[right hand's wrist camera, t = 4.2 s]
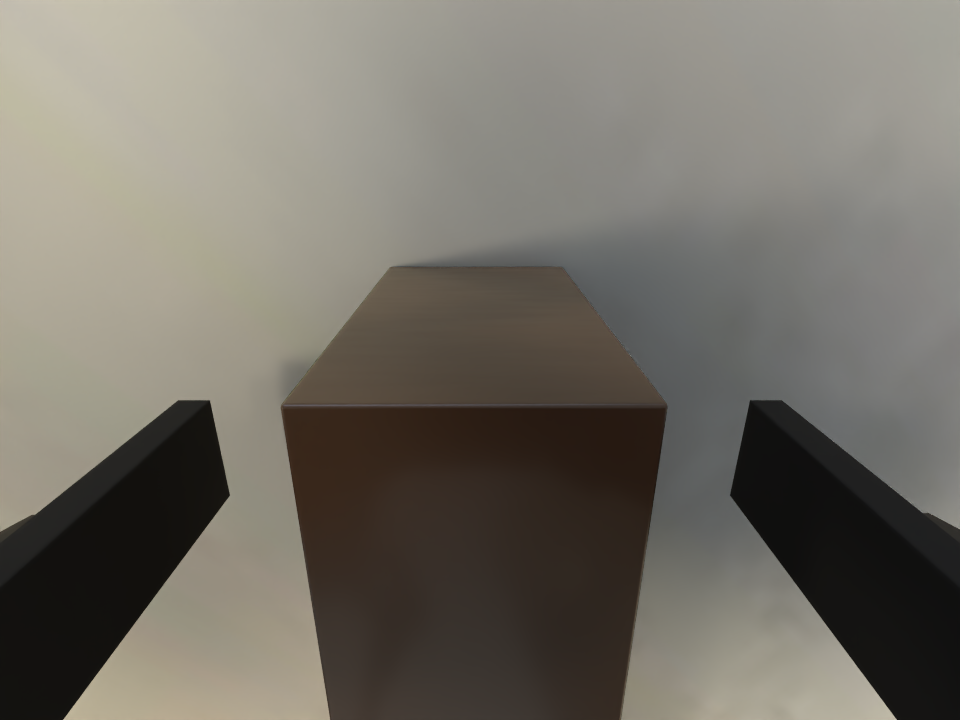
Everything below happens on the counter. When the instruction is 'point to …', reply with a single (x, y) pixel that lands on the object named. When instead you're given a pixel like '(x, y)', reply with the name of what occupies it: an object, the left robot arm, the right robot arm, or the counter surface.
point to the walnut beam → (474, 499)
